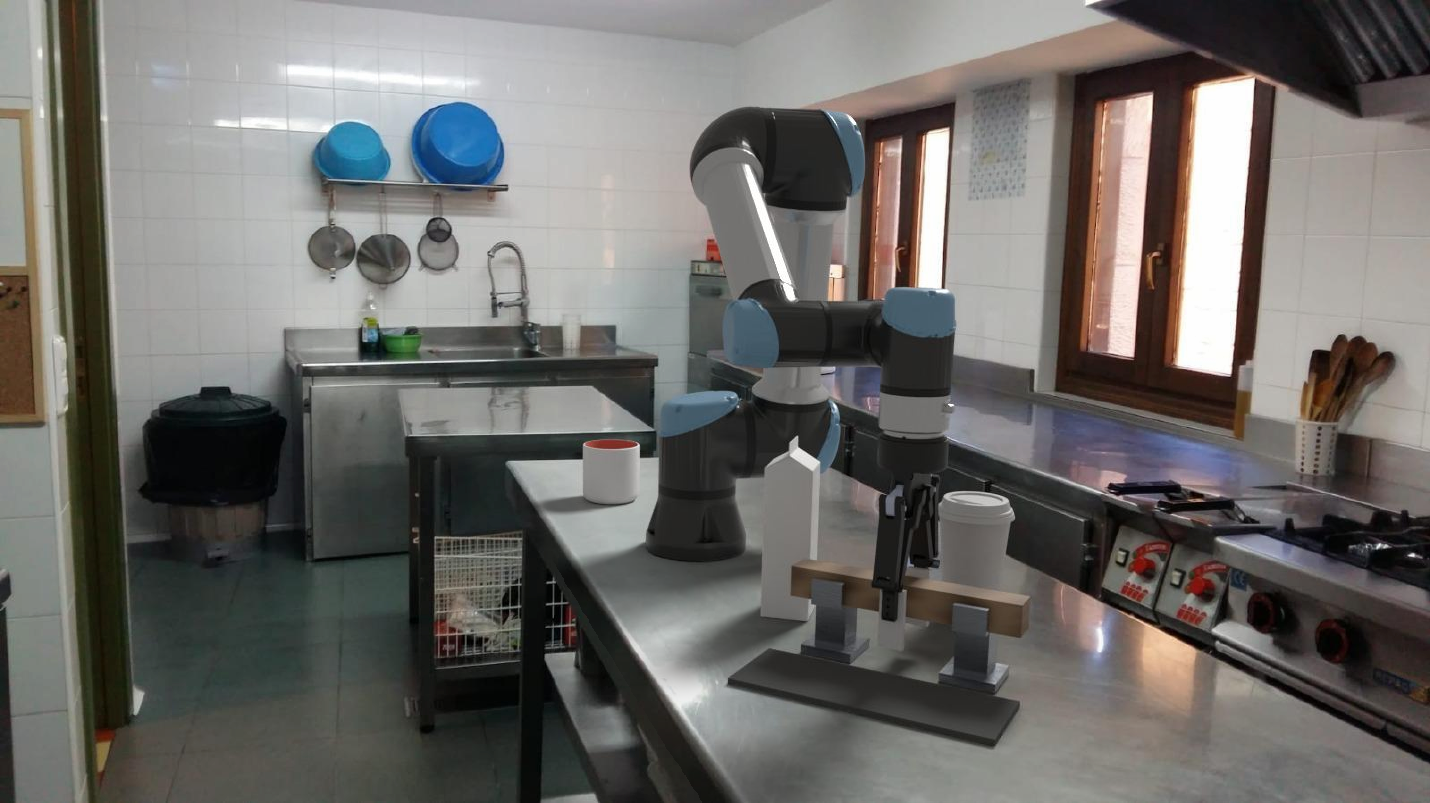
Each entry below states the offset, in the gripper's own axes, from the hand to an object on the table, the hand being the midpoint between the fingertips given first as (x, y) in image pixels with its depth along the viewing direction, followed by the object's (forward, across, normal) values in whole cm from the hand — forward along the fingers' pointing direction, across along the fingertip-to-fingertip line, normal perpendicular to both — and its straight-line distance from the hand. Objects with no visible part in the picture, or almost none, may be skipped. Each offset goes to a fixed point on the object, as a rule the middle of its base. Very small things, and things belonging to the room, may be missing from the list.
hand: (903, 635), depth 121 cm
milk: (+3, +9, +18) cm, 20 cm away
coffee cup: (+3, +20, -2) cm, 20 cm away
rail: (-3, 0, 0) cm, 3 cm away
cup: (+4, +47, +70) cm, 84 cm away
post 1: (+3, 0, +8) cm, 9 cm away
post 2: (+3, 0, -8) cm, 9 cm away
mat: (+3, -10, 0) cm, 11 cm away
